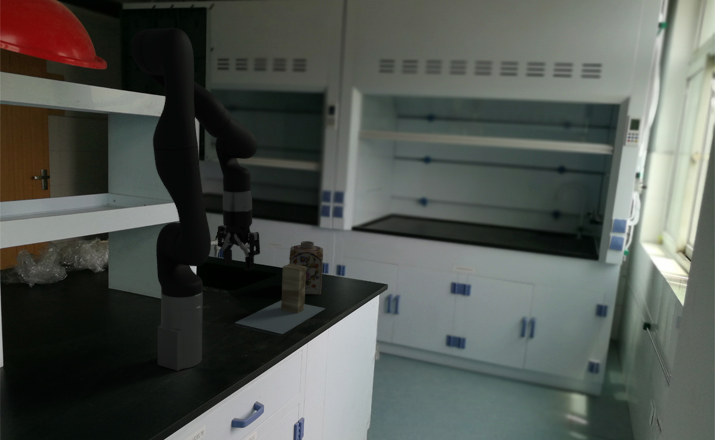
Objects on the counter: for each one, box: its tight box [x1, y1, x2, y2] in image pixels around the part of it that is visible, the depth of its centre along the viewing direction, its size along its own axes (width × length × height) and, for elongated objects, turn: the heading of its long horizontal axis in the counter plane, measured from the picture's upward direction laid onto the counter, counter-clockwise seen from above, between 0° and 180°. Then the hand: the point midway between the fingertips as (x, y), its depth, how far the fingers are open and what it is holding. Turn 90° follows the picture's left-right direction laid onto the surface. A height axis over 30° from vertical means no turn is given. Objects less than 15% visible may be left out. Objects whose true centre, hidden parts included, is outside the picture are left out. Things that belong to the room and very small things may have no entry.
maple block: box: [280, 263, 306, 313], centre depth 162 cm, size 4×6×14 cm, turn 66°
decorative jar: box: [288, 240, 324, 295], centre depth 185 cm, size 12×12×18 cm
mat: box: [234, 299, 326, 337], centre depth 158 cm, size 26×16×1 cm, turn 157°
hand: (238, 266), depth 140 cm, fingers open, 8 cm apart
